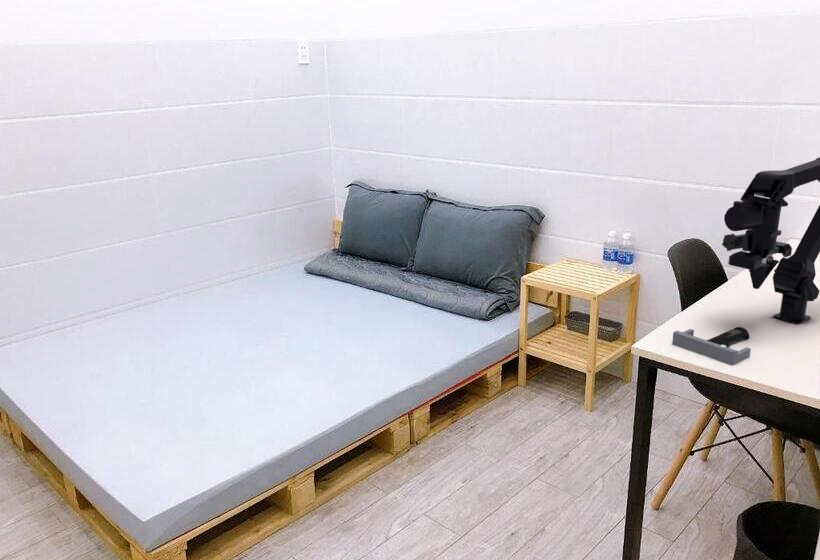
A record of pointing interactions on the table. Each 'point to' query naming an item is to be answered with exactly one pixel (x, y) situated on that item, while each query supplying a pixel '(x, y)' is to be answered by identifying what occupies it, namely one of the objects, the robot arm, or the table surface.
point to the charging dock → (709, 347)
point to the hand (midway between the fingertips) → (756, 288)
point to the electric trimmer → (730, 336)
